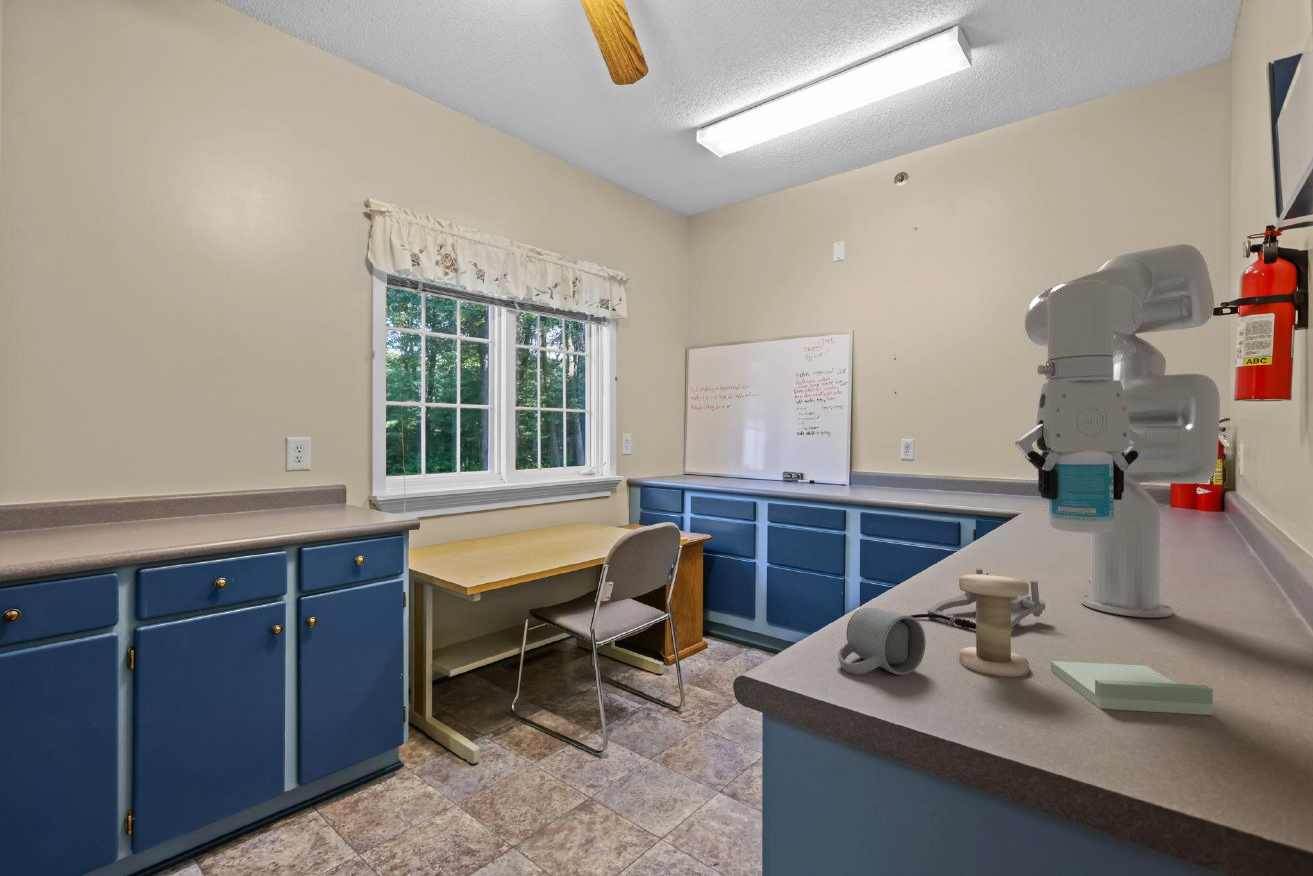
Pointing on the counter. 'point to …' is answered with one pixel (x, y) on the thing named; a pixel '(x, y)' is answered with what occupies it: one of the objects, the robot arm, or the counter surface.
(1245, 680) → the counter surface
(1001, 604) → the bobbin
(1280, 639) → the counter surface
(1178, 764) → the counter surface
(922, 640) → the ceramic mug
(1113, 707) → the board
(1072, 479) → the pill bottle
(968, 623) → the bike brake
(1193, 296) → the robot arm
